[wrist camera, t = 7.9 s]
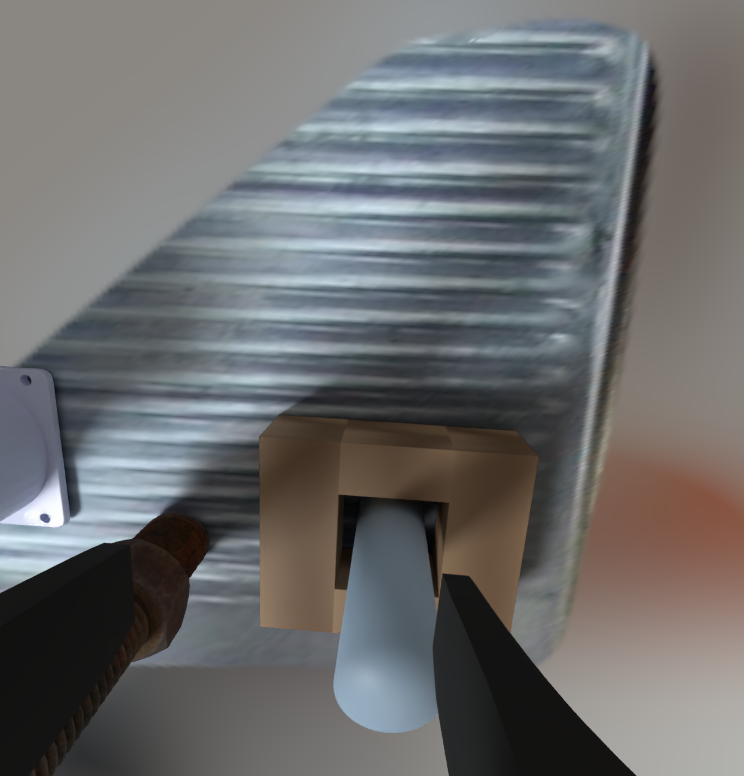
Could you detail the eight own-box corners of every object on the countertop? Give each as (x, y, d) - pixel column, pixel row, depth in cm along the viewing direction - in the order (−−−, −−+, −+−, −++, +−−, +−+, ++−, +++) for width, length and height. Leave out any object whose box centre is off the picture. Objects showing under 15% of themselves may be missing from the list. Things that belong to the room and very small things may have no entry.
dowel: (360, 533, 21) (336, 731, 11) (358, 478, 20) (330, 640, 11) (421, 533, 20) (446, 734, 11) (421, 477, 20) (447, 641, 11)
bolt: (138, 472, 20) (-498, 934, 6) (238, 496, 20) (-143, 1014, 6) (127, 571, 22) (-411, 1148, 7) (220, 594, 22) (-124, 1210, 7)
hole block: (278, 580, 21) (260, 626, 18) (278, 414, 19) (259, 436, 16) (491, 597, 21) (507, 647, 18) (516, 430, 19) (539, 456, 16)
